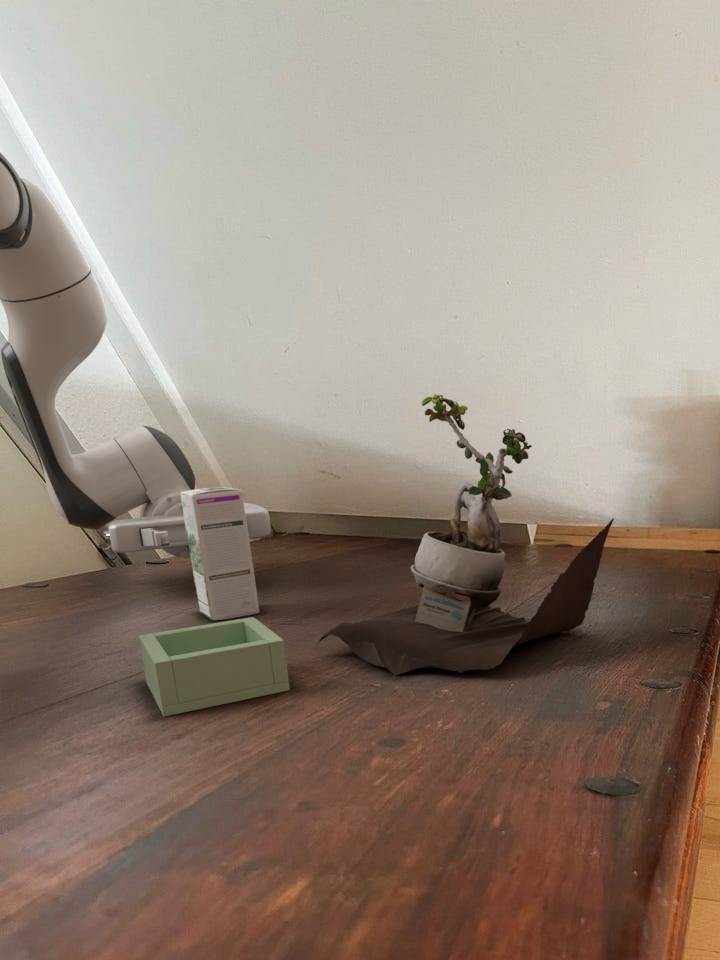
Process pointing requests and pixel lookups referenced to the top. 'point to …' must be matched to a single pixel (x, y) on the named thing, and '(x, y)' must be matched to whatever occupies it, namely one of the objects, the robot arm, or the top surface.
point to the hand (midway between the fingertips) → (202, 535)
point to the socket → (213, 664)
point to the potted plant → (470, 582)
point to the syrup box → (220, 552)
